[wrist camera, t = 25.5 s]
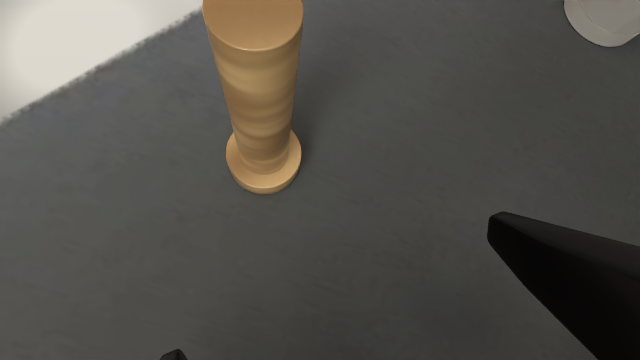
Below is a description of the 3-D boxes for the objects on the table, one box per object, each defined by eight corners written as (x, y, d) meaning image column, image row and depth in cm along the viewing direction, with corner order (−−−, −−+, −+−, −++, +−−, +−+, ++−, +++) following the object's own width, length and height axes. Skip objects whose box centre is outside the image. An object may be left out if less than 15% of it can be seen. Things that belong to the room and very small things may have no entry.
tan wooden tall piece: (313, 158, 23) (362, 9, 10) (267, 209, 21) (259, 108, 9) (262, 115, 23) (249, -79, 11) (213, 162, 22) (134, 4, 9)
